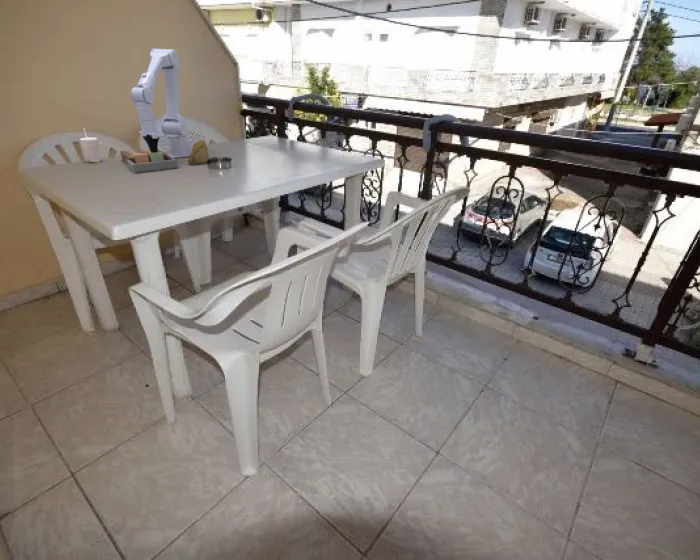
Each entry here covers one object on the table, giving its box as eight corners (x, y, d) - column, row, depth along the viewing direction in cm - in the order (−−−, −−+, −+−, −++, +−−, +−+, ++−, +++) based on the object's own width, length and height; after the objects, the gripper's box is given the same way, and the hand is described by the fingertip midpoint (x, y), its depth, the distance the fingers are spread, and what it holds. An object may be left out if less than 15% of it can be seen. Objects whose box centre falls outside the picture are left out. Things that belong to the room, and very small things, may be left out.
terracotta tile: (146, 153, 160) (147, 154, 159) (148, 165, 162) (150, 166, 161) (133, 154, 157) (134, 155, 156) (136, 166, 160) (137, 167, 158)
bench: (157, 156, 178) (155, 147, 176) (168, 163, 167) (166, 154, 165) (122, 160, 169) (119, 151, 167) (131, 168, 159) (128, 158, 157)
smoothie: (85, 161, 166) (74, 127, 159) (102, 159, 170) (92, 126, 163) (88, 164, 162) (78, 129, 155) (105, 162, 166) (95, 128, 158)
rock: (187, 161, 162) (211, 156, 166) (181, 143, 163) (204, 138, 166) (190, 171, 173) (212, 167, 176) (184, 154, 173) (206, 150, 176)
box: (170, 163, 168) (169, 155, 166) (178, 168, 161) (176, 159, 159) (128, 168, 158) (126, 159, 156) (134, 173, 152) (132, 164, 150)
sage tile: (161, 151, 163) (162, 152, 162) (163, 163, 166) (164, 164, 164) (148, 152, 160) (149, 153, 159) (151, 164, 163) (152, 165, 162)
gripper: (132, 118, 158) (140, 151, 165) (141, 122, 149) (149, 157, 156) (150, 117, 162) (157, 149, 169) (160, 121, 153) (167, 155, 160)
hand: (154, 153), depth 163 cm, fingers closed
